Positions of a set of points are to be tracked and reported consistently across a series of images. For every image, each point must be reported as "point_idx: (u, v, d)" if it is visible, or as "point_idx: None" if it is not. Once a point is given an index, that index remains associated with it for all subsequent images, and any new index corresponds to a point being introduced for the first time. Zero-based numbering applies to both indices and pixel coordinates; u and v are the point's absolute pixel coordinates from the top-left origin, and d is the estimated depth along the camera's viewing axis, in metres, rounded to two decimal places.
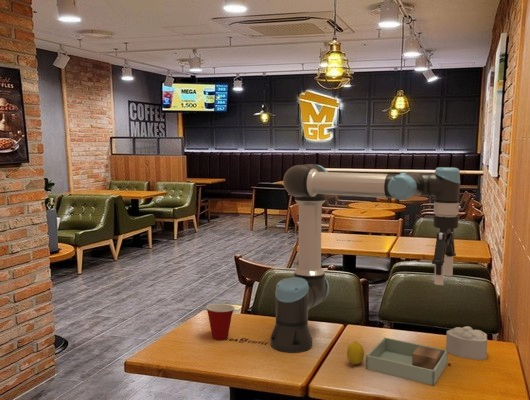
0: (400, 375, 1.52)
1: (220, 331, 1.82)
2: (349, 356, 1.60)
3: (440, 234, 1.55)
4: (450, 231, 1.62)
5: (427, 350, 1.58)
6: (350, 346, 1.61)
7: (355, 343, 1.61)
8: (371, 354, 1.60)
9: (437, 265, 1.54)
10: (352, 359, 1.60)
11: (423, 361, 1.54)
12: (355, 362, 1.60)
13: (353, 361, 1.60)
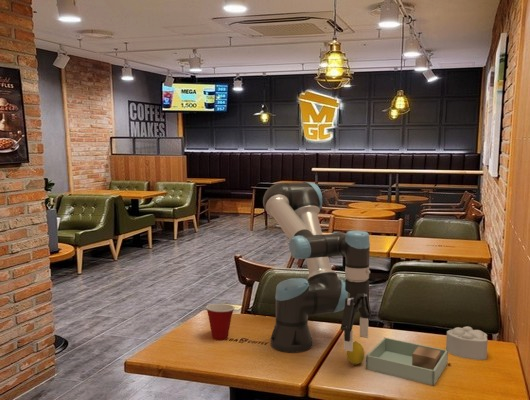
0: (400, 375, 1.52)
1: (220, 331, 1.82)
2: (349, 356, 1.60)
3: (348, 300, 1.54)
4: (362, 294, 1.61)
5: (427, 350, 1.58)
6: None
7: (355, 343, 1.61)
8: (371, 354, 1.60)
9: (345, 331, 1.53)
10: (352, 359, 1.60)
11: (423, 361, 1.54)
12: (355, 362, 1.60)
13: (353, 361, 1.60)
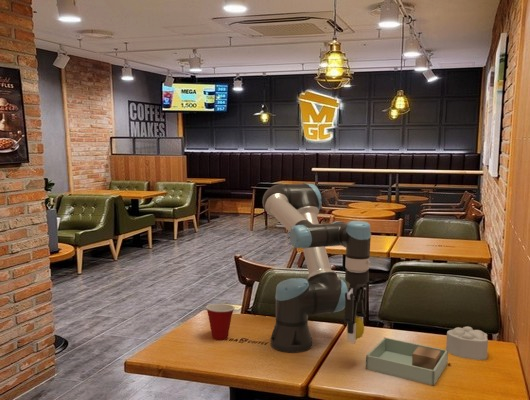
0: (400, 375, 1.52)
1: (220, 331, 1.82)
2: None
3: (348, 295, 1.54)
4: (362, 284, 1.61)
5: (427, 350, 1.58)
6: None
7: (355, 318, 1.60)
8: (371, 354, 1.60)
9: (349, 324, 1.57)
10: None
11: (423, 361, 1.54)
12: None
13: None
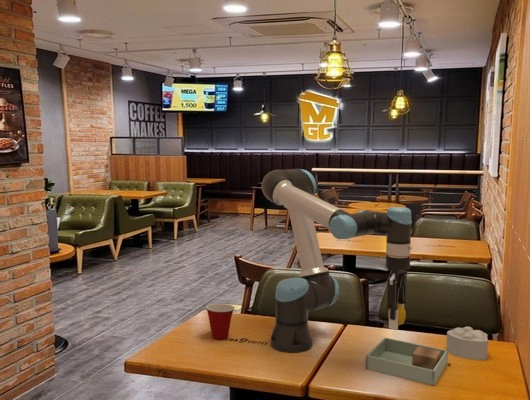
0: (400, 375, 1.52)
1: (220, 331, 1.82)
2: None
3: (390, 280, 1.54)
4: (403, 270, 1.61)
5: (427, 350, 1.58)
6: None
7: None
8: (371, 354, 1.60)
9: (391, 310, 1.56)
10: None
11: (423, 361, 1.54)
12: None
13: None
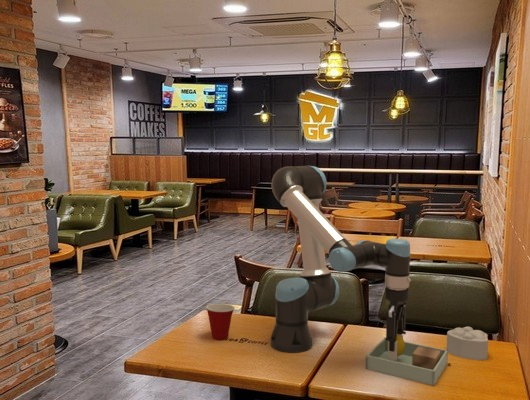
0: (400, 375, 1.52)
1: (220, 331, 1.82)
2: None
3: (389, 313, 1.55)
4: None
5: (427, 350, 1.58)
6: None
7: None
8: (371, 354, 1.60)
9: (390, 342, 1.57)
10: None
11: (423, 361, 1.54)
12: None
13: None
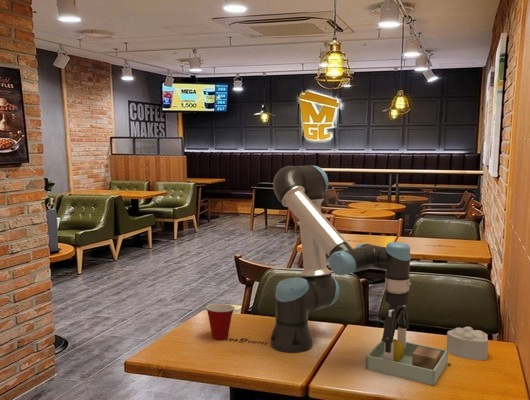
0: (400, 375, 1.52)
1: (220, 331, 1.82)
2: None
3: (389, 312, 1.55)
4: (402, 305, 1.62)
5: (427, 350, 1.58)
6: None
7: (395, 341, 1.61)
8: (371, 354, 1.60)
9: (386, 343, 1.54)
10: None
11: (423, 361, 1.54)
12: (396, 360, 1.60)
13: (394, 359, 1.60)
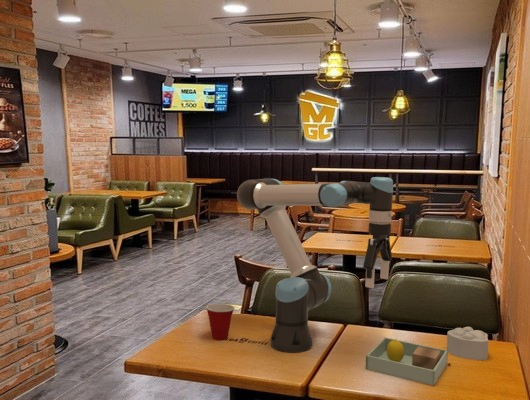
0: (400, 375, 1.52)
1: (220, 331, 1.82)
2: (389, 354, 1.60)
3: (371, 240, 1.65)
4: (384, 237, 1.71)
5: (427, 350, 1.58)
6: (390, 344, 1.61)
7: (395, 341, 1.61)
8: (371, 354, 1.60)
9: (367, 269, 1.64)
10: (392, 357, 1.60)
11: (423, 361, 1.54)
12: (396, 360, 1.60)
13: (394, 359, 1.60)
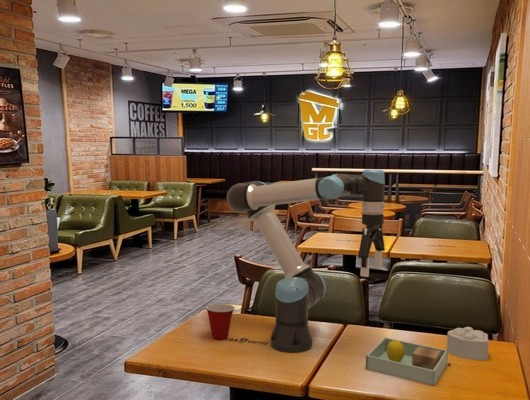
0: (400, 375, 1.52)
1: (220, 331, 1.82)
2: (390, 354, 1.60)
3: (365, 230, 1.69)
4: (377, 227, 1.76)
5: (427, 350, 1.58)
6: (390, 344, 1.61)
7: (395, 341, 1.61)
8: (371, 354, 1.60)
9: (362, 258, 1.69)
10: (392, 357, 1.60)
11: (423, 361, 1.54)
12: (396, 360, 1.60)
13: (394, 359, 1.60)
